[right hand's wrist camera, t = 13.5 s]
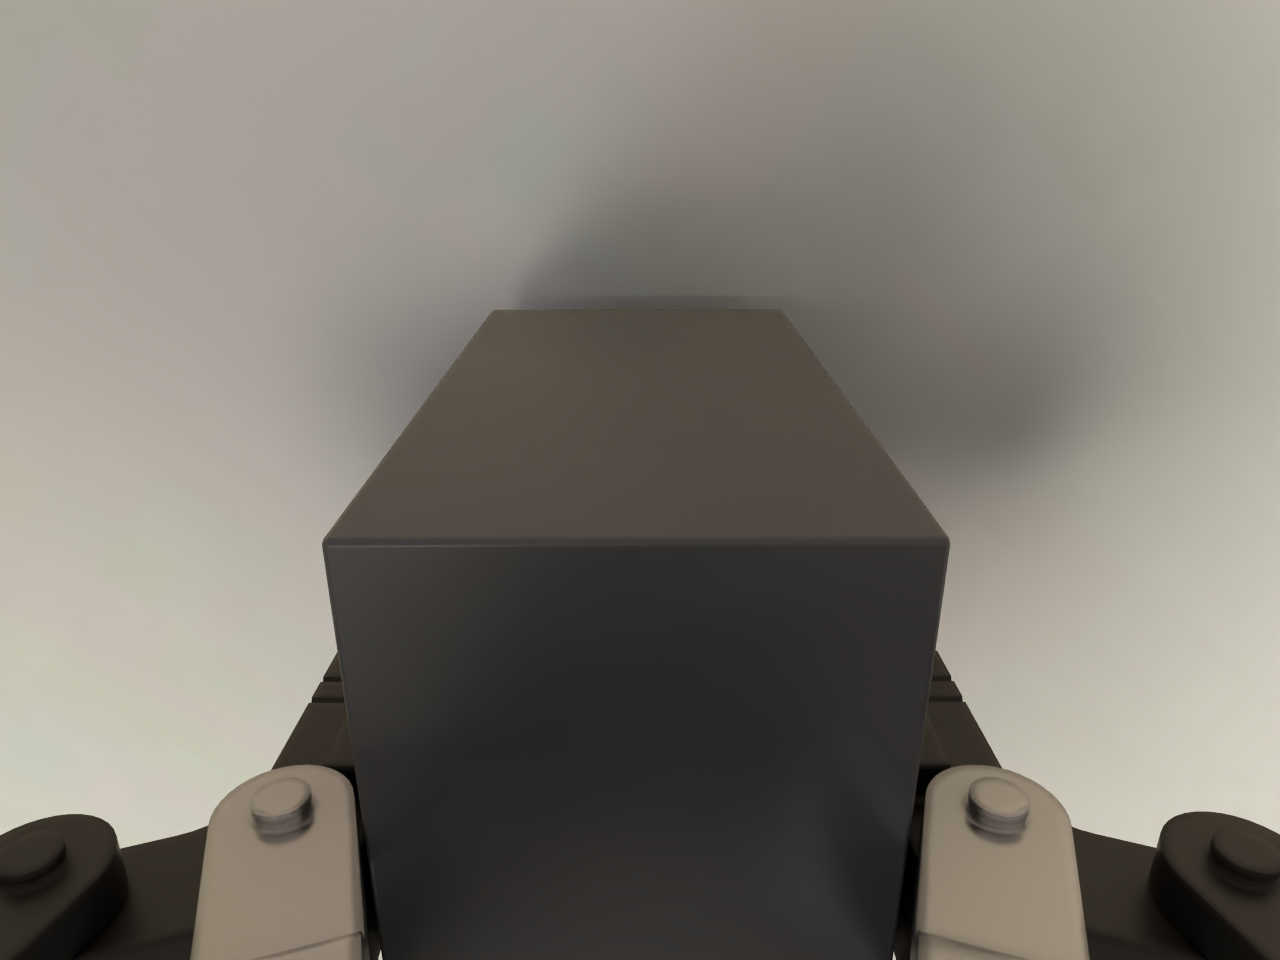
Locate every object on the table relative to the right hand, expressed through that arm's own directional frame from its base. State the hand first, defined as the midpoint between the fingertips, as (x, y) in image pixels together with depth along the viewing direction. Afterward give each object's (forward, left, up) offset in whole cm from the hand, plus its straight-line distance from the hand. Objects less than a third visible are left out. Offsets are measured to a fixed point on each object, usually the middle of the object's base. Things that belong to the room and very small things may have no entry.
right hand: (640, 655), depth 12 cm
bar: (+8, +3, -4) cm, 9 cm away
